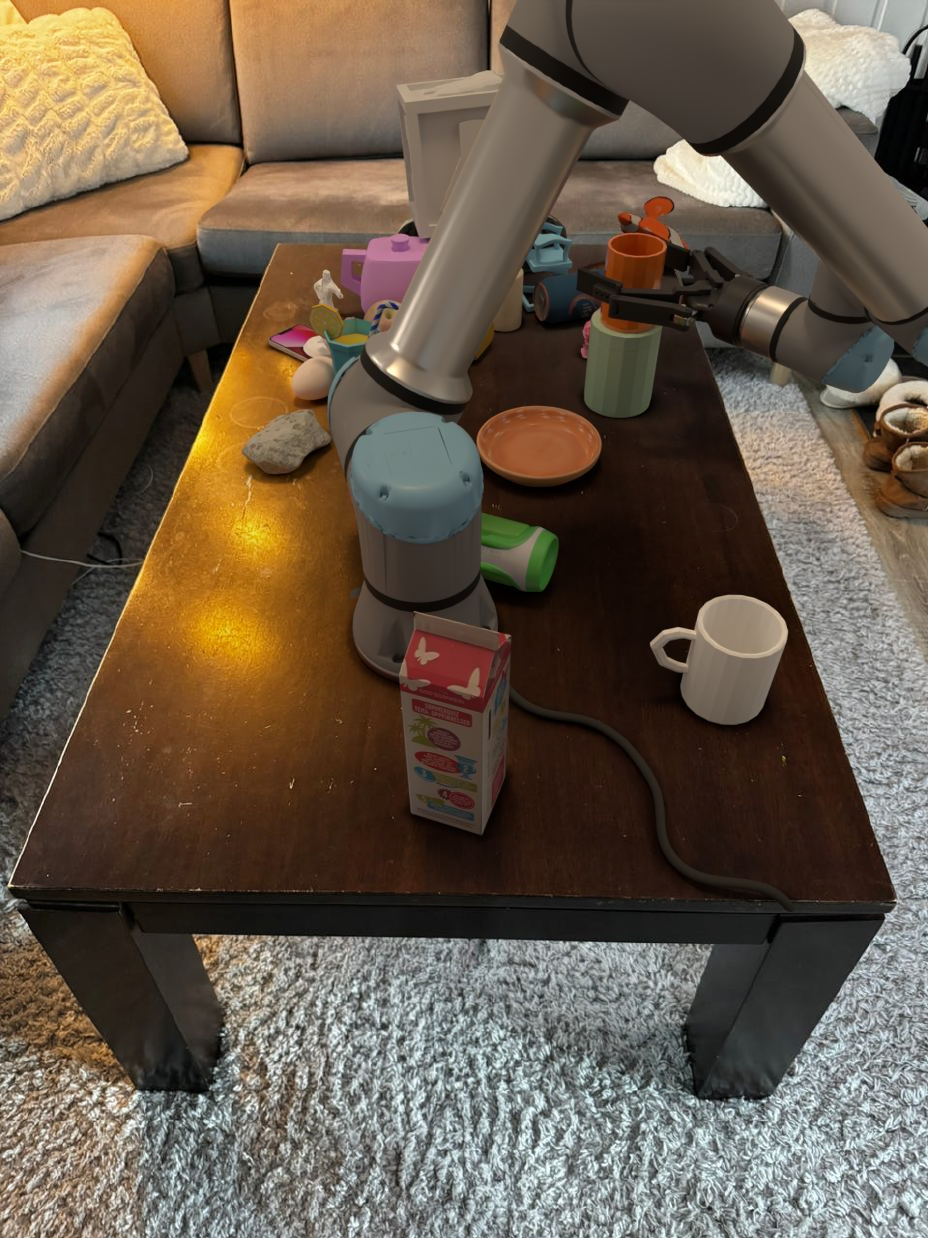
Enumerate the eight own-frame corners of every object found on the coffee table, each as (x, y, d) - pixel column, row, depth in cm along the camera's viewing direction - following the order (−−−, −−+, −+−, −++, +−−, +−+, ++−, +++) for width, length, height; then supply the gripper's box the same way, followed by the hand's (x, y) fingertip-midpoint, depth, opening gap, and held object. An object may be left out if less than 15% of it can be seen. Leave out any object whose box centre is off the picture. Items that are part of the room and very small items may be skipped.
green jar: (662, 408, 126) (675, 328, 117) (605, 423, 123) (614, 343, 114) (627, 377, 132) (638, 298, 123) (572, 391, 129) (579, 312, 120)
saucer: (583, 506, 110) (585, 486, 108) (460, 481, 114) (459, 462, 112) (611, 436, 121) (613, 416, 118) (497, 415, 124) (498, 396, 122)
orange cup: (665, 326, 117) (677, 250, 110) (618, 338, 115) (627, 261, 108) (636, 303, 122) (646, 228, 115) (590, 313, 120) (597, 238, 113)
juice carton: (437, 755, 84) (429, 583, 69) (505, 775, 82) (512, 603, 67) (410, 813, 80) (395, 643, 64) (481, 835, 78) (483, 666, 62)
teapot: (340, 334, 141) (331, 254, 132) (347, 298, 150) (339, 220, 141) (468, 333, 141) (468, 253, 132) (468, 297, 149) (467, 219, 140)
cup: (417, 388, 130) (412, 288, 119) (411, 418, 124) (406, 315, 114) (321, 385, 131) (308, 285, 120) (312, 415, 125) (297, 313, 114)
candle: (481, 319, 144) (481, 258, 137) (511, 312, 146) (513, 251, 139) (496, 334, 141) (497, 272, 134) (527, 327, 142) (530, 265, 135)
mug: (636, 661, 92) (650, 591, 85) (754, 664, 92) (778, 594, 85) (644, 723, 87) (659, 654, 80) (770, 726, 86) (796, 657, 79)
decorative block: (410, 209, 153) (394, 73, 141) (520, 196, 154) (515, 59, 142) (419, 239, 138) (403, 89, 126) (542, 224, 139) (538, 74, 127)
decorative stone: (325, 482, 114) (321, 449, 111) (240, 483, 114) (233, 450, 111) (334, 428, 123) (330, 395, 119) (255, 428, 123) (249, 396, 119)
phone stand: (576, 306, 147) (582, 232, 138) (527, 312, 146) (530, 237, 137) (561, 285, 152) (566, 213, 144) (514, 291, 151) (516, 218, 142)
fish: (643, 177, 145) (620, 177, 158) (605, 252, 149) (586, 246, 162) (742, 234, 150) (712, 230, 163) (702, 305, 154) (676, 296, 168)
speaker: (532, 602, 95) (551, 589, 102) (547, 536, 93) (565, 527, 100) (384, 559, 100) (412, 549, 107) (395, 495, 98) (422, 489, 105)
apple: (397, 375, 136) (381, 337, 129) (362, 356, 139) (344, 318, 132) (430, 339, 137) (416, 300, 130) (395, 321, 141) (379, 282, 134)
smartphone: (334, 372, 131) (265, 338, 138) (334, 378, 132) (265, 344, 139) (369, 354, 135) (300, 322, 142) (369, 360, 136) (301, 328, 143)
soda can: (612, 322, 145) (543, 334, 143) (595, 291, 148) (528, 303, 145) (623, 288, 139) (552, 300, 136) (605, 257, 142) (535, 268, 139)
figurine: (293, 346, 134) (293, 266, 126) (327, 334, 139) (329, 256, 131) (327, 365, 132) (328, 284, 124) (361, 351, 136) (365, 273, 128)
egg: (322, 362, 131) (279, 387, 128) (328, 340, 126) (284, 365, 123) (346, 391, 131) (303, 416, 127) (353, 370, 126) (309, 396, 122)
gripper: (686, 385, 101) (546, 321, 112) (804, 312, 113) (668, 261, 124) (698, 323, 96) (550, 262, 107) (820, 253, 108) (676, 205, 119)
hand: (613, 261), depth 116 cm, fingers open, 13 cm apart
